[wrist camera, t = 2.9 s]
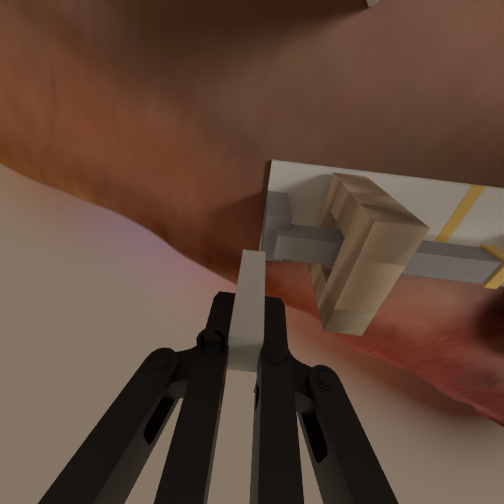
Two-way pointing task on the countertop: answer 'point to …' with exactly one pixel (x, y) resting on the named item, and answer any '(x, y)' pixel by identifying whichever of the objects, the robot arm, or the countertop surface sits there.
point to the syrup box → (372, 2)
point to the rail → (408, 195)
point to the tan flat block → (362, 252)
